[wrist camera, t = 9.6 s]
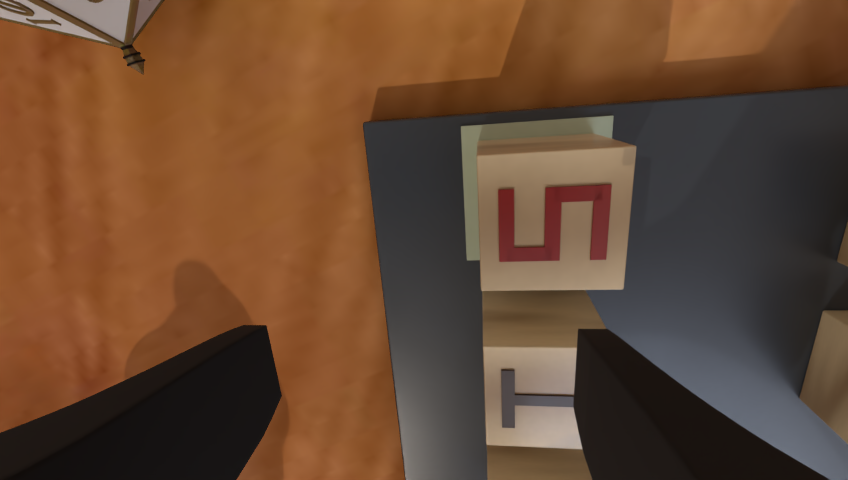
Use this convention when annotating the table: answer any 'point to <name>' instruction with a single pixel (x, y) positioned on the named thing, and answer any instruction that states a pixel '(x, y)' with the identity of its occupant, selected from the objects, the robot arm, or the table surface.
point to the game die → (87, 20)
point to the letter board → (643, 285)
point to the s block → (554, 212)
